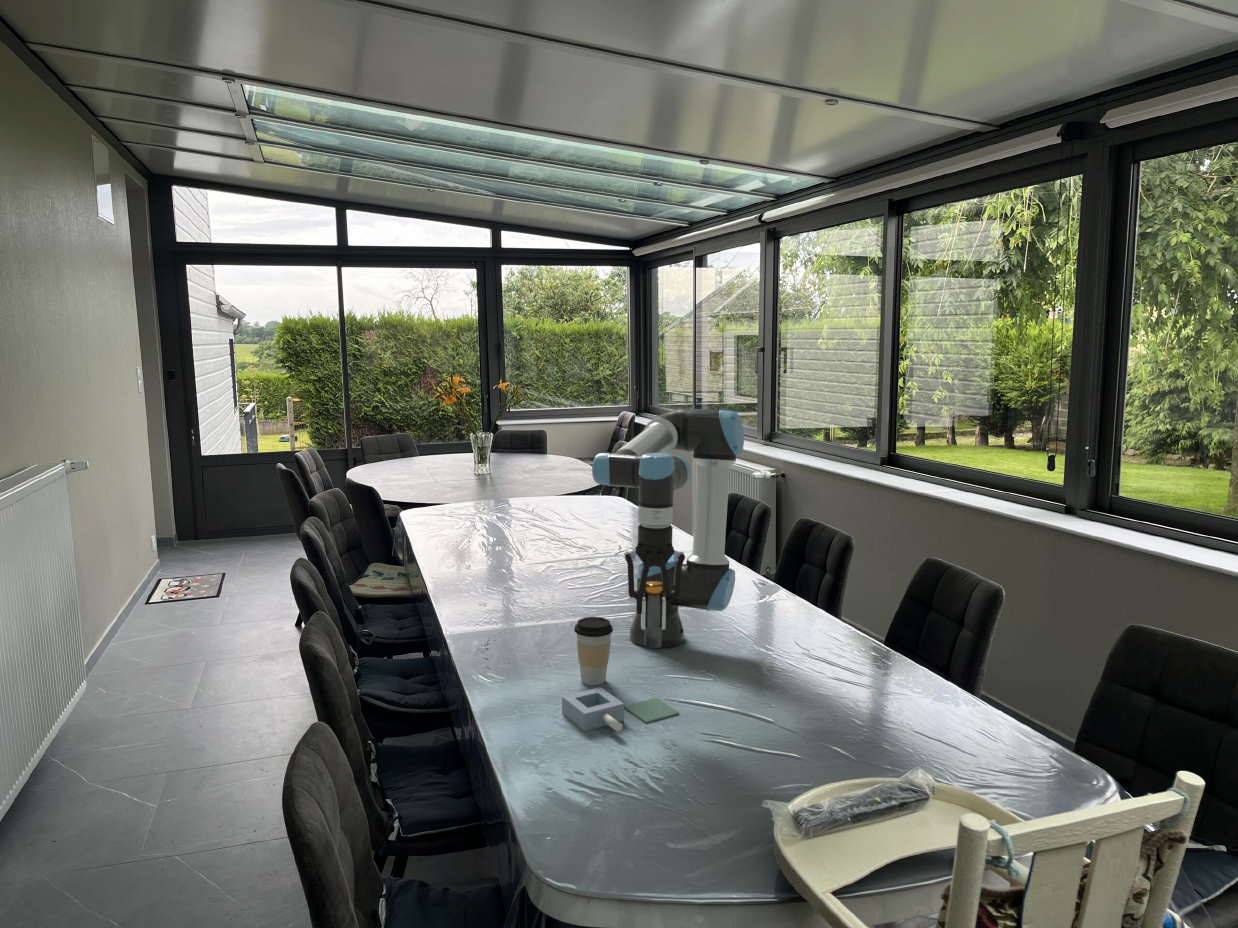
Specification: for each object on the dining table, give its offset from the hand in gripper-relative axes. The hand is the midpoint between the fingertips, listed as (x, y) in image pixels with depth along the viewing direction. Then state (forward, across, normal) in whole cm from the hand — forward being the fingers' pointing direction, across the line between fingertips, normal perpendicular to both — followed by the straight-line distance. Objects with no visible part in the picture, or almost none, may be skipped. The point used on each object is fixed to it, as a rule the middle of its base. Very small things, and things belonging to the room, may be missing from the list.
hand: (653, 627), depth 185 cm
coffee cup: (+20, -13, +17) cm, 29 cm away
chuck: (+20, -12, -6) cm, 24 cm away
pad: (+20, 0, 0) cm, 20 cm away
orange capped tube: (+4, 0, 0) cm, 4 cm away
